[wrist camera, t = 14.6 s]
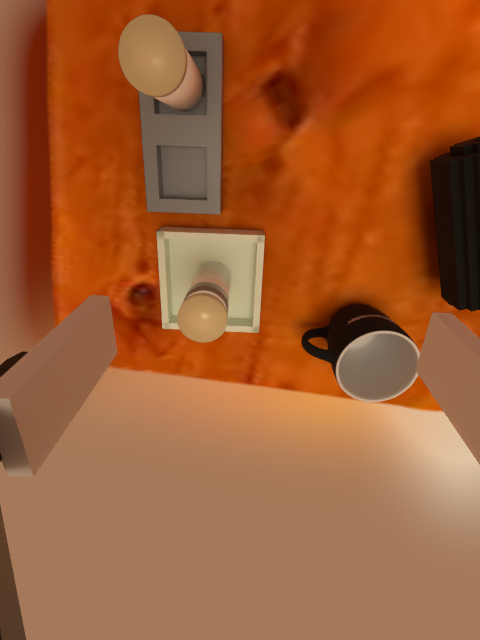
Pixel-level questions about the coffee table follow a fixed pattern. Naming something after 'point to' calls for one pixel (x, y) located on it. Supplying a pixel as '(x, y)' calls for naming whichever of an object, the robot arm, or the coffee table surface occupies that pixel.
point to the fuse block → (177, 112)
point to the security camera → (458, 223)
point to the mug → (367, 353)
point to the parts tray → (203, 246)
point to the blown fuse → (206, 303)
